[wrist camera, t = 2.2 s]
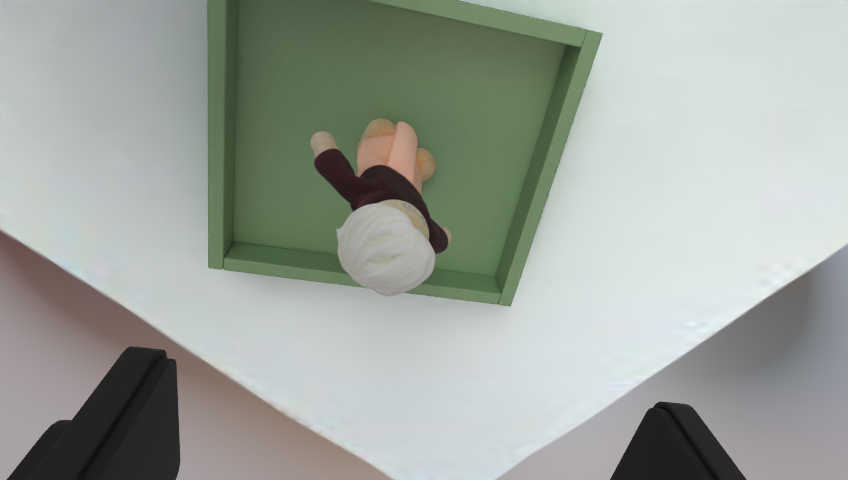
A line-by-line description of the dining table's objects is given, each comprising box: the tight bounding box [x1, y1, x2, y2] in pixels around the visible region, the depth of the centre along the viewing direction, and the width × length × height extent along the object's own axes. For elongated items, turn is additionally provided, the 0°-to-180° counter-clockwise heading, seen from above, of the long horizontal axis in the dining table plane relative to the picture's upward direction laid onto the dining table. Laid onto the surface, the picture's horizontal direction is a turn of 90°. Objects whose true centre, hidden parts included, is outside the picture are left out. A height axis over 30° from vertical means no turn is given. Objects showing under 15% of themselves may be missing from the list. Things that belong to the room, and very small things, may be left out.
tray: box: [207, 0, 602, 306], centre depth 25 cm, size 18×16×2 cm
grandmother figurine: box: [311, 118, 451, 296], centre depth 20 cm, size 8×4×13 cm, turn 59°
